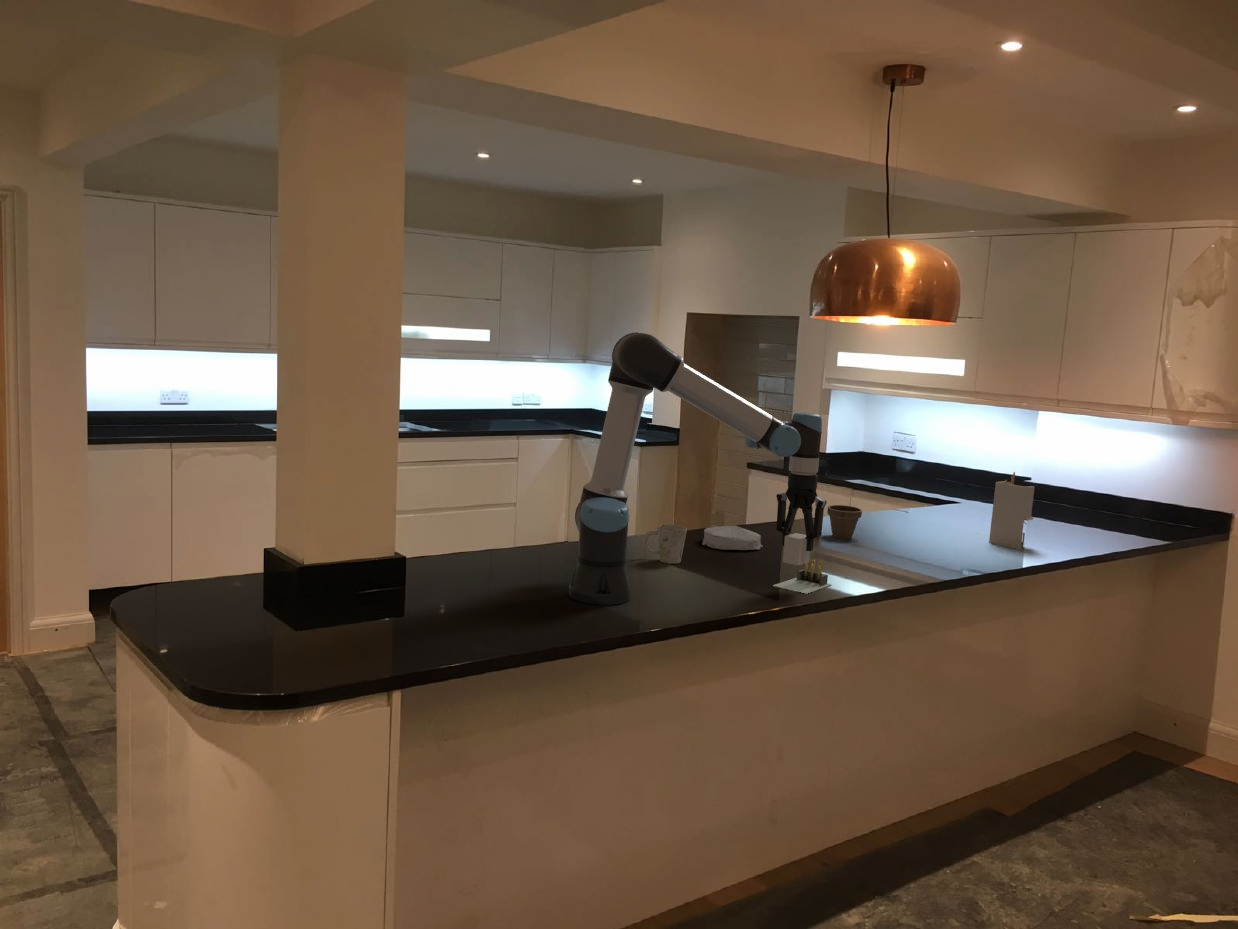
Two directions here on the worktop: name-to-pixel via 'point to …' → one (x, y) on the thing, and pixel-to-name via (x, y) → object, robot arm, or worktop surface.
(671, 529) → the mug
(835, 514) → the flower pot
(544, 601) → the worktop surface
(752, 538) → the food container
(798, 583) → the board
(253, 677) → the worktop surface
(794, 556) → the plug housing
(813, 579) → the header pins
